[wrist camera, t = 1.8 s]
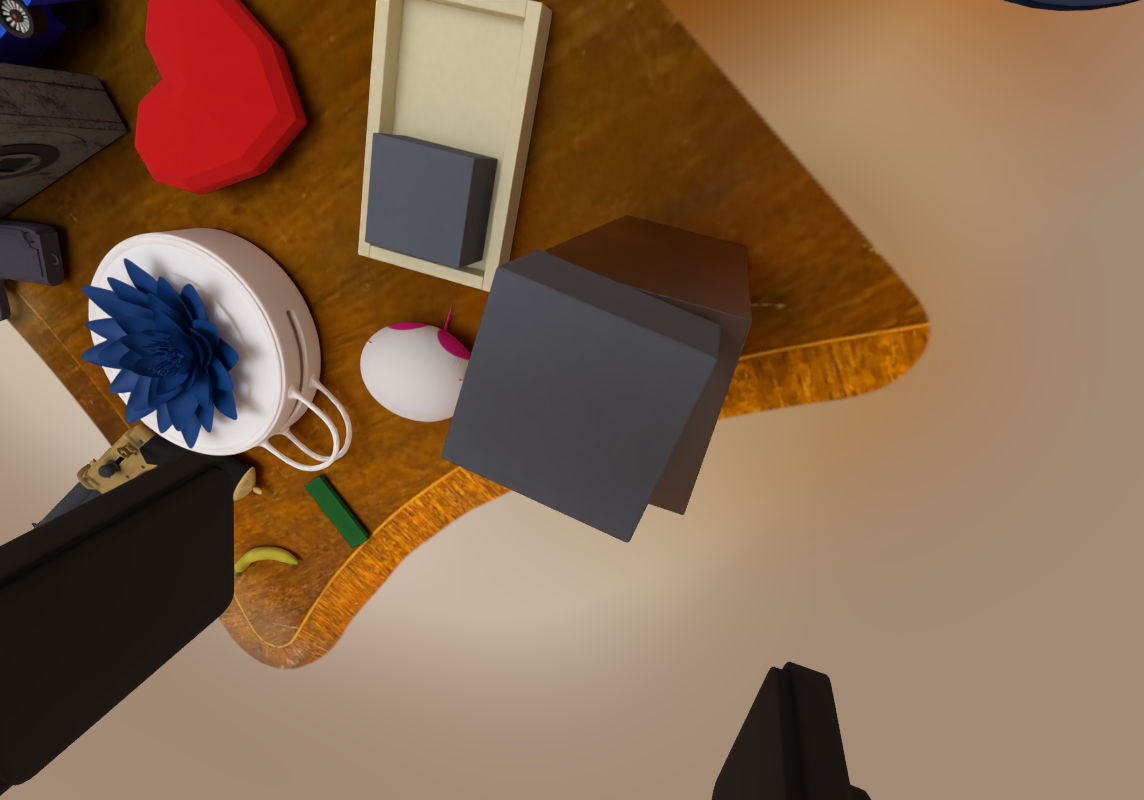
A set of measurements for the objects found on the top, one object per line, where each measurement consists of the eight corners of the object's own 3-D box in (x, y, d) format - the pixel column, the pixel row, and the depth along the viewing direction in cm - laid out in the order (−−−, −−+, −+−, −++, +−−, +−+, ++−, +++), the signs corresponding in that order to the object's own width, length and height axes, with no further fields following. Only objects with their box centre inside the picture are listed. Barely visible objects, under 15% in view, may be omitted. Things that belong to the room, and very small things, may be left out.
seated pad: (498, 158, 35) (474, 157, 32) (482, 260, 38) (458, 269, 34) (404, 135, 36) (372, 132, 33) (395, 236, 38) (364, 242, 35)
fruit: (289, 552, 50) (299, 583, 51) (298, 544, 51) (308, 574, 52) (221, 550, 52) (232, 580, 53) (231, 543, 53) (242, 572, 54)
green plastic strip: (324, 472, 47) (309, 482, 48) (318, 476, 47) (303, 486, 48) (372, 535, 48) (357, 544, 49) (368, 539, 48) (352, 548, 48)
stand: (745, 245, 34) (753, 319, 18) (707, 360, 37) (683, 516, 20) (625, 214, 35) (527, 257, 19) (597, 329, 38) (490, 452, 21)
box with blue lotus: (21, 365, 41) (247, 556, 42) (85, 180, 35) (350, 412, 36) (115, 339, 48) (310, 506, 49) (184, 178, 41) (408, 376, 42)
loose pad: (722, 324, 18) (719, 359, 15) (645, 485, 20) (628, 544, 17) (537, 248, 18) (495, 265, 15) (484, 413, 21) (439, 458, 18)
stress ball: (511, 342, 43) (501, 312, 36) (463, 445, 42) (444, 433, 35) (414, 301, 43) (388, 264, 37) (364, 402, 42) (327, 382, 35)
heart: (339, 26, 37) (185, -19, 37) (301, -3, 33) (128, -54, 33) (305, 223, 40) (163, 179, 40) (267, 219, 36) (109, 170, 36)
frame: (552, 11, 32) (542, 2, 30) (504, 287, 38) (493, 293, 36) (396, -22, 33) (377, -32, 32) (374, 250, 40) (357, 254, 38)
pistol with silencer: (143, 583, 60) (49, 509, 57) (285, 472, 50) (179, 374, 47) (107, 616, 56) (5, 540, 53) (252, 504, 46) (135, 401, 43)
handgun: (66, 225, 44) (-79, 173, 45) (36, 232, 43) (-114, 177, 43) (97, 420, 53) (-24, 374, 54) (73, 433, 51) (-52, 385, 52)
